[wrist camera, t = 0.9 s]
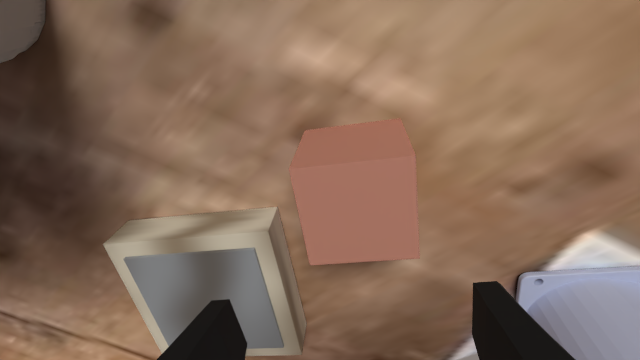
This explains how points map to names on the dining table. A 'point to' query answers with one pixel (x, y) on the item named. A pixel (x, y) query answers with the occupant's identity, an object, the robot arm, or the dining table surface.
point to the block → (357, 193)
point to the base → (213, 275)
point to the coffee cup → (19, 26)
